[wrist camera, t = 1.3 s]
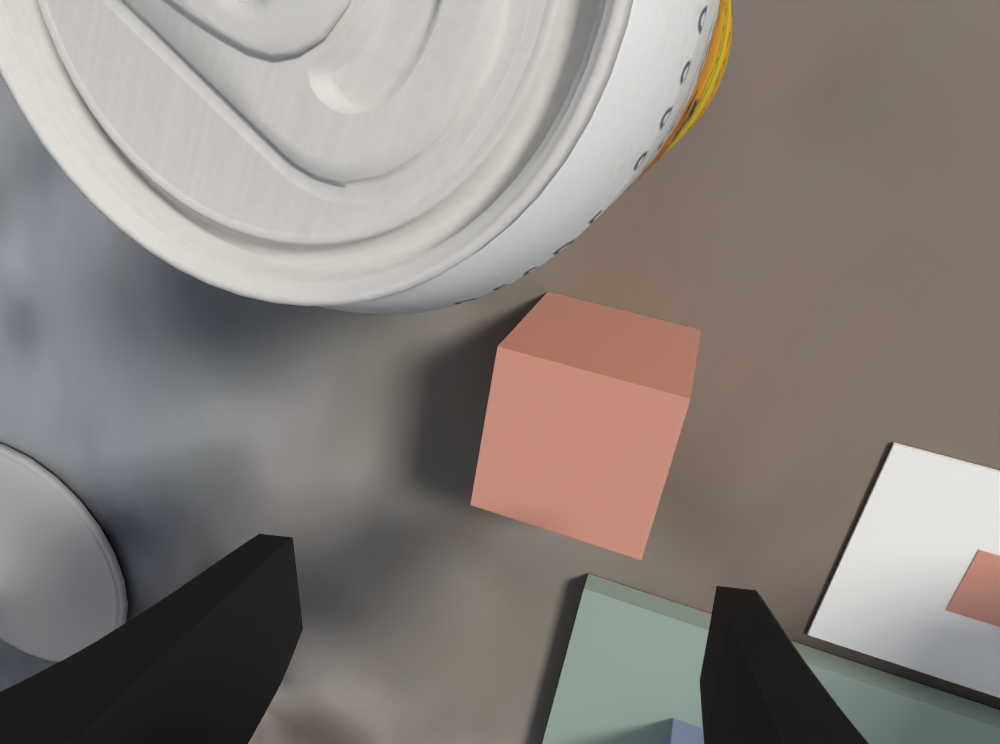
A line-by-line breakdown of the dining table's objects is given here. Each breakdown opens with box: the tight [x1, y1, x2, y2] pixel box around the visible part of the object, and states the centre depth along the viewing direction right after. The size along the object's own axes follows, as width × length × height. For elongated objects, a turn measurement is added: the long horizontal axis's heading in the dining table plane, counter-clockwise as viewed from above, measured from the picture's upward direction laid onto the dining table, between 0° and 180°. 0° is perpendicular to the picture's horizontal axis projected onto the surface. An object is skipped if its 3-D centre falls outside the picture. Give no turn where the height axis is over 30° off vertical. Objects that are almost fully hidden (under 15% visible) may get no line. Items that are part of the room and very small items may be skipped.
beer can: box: [0, 0, 732, 315], centre depth 11 cm, size 6×6×15 cm
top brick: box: [470, 292, 701, 560], centre depth 19 cm, size 4×4×5 cm
